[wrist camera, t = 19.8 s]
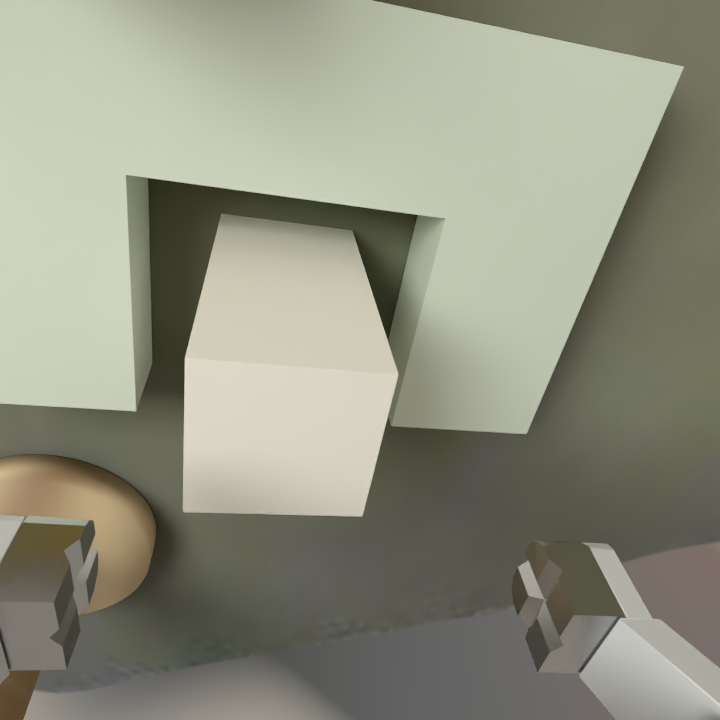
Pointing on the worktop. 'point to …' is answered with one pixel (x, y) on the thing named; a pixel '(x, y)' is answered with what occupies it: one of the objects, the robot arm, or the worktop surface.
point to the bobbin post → (112, 539)
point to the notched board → (313, 179)
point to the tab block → (284, 374)
